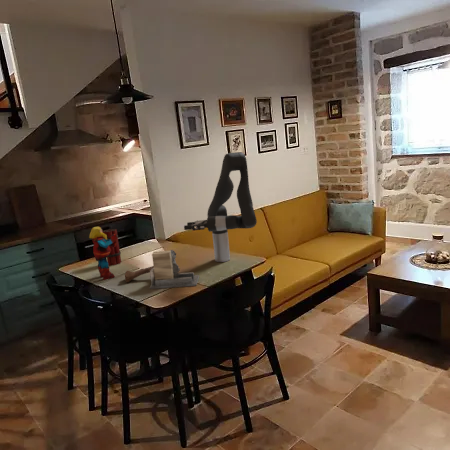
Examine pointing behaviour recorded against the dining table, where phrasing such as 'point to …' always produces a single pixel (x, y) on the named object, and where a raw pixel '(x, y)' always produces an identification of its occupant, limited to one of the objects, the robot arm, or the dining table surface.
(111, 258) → the dynamite
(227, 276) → the dining table surface
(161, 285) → the rail
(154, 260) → the wooden block
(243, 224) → the robot arm
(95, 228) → the toy
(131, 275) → the hammer
